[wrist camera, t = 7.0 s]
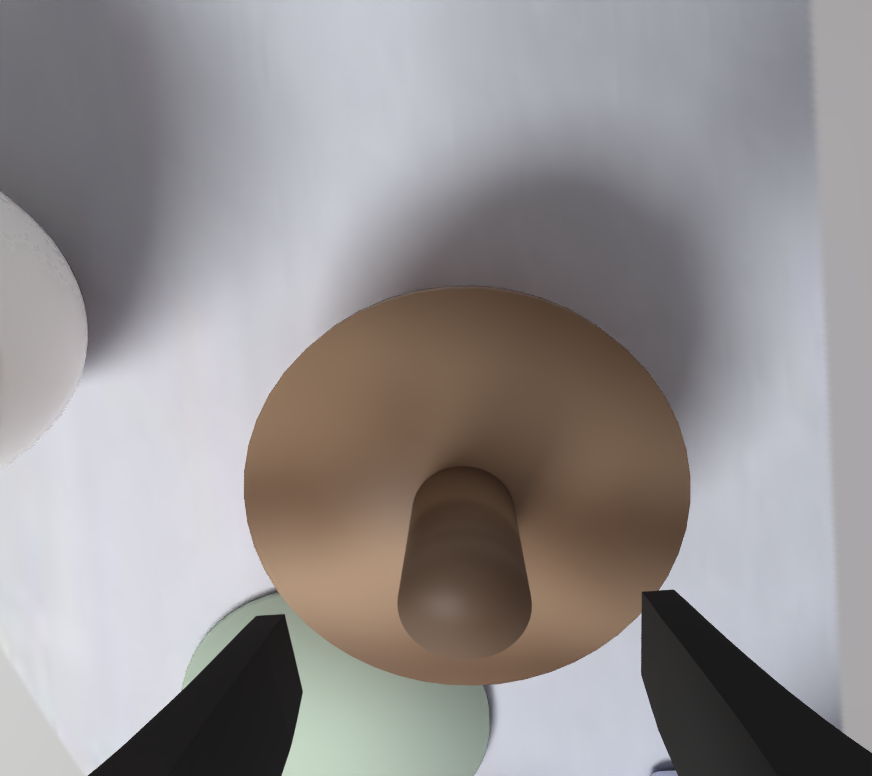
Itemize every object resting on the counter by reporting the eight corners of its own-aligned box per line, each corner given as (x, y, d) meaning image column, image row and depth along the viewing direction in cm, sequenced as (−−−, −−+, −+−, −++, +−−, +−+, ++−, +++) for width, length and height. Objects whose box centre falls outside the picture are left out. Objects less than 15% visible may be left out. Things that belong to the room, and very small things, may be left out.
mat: (500, 817, 26) (500, 826, 26) (224, 826, 27) (220, 835, 27) (475, 576, 22) (475, 582, 22) (150, 598, 23) (144, 604, 23)
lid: (667, 661, 18) (737, 811, 14) (289, 671, 19) (235, 816, 14) (694, 268, 14) (805, 294, 10) (216, 302, 15) (110, 341, 10)
